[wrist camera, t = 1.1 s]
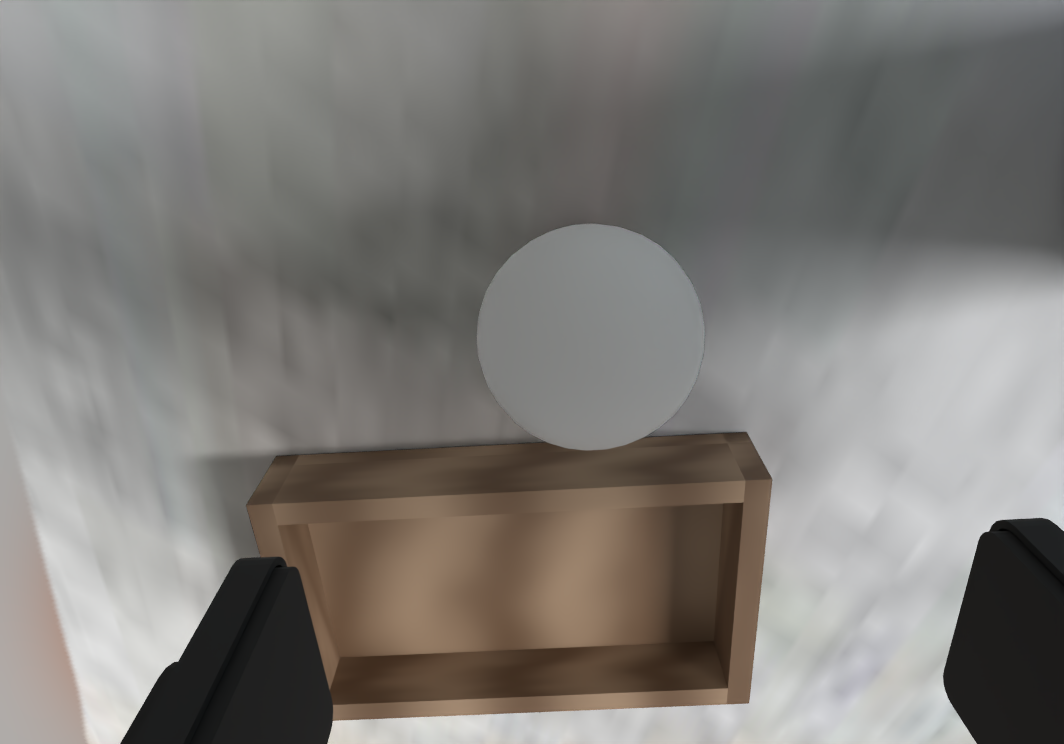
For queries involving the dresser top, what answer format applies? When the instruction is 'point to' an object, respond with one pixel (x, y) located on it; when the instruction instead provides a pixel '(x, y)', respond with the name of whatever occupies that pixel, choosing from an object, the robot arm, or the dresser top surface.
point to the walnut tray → (526, 573)
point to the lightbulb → (590, 337)
